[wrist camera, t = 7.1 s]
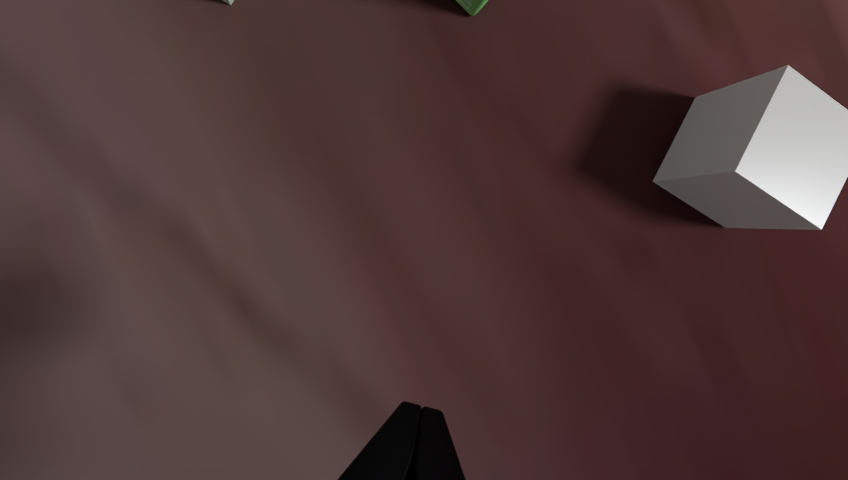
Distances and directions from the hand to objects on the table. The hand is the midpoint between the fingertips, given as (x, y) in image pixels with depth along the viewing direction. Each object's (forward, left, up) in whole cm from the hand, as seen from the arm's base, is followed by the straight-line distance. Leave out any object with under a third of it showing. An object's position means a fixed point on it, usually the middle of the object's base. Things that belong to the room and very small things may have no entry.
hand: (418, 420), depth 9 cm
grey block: (+19, +4, -12) cm, 22 cm away
